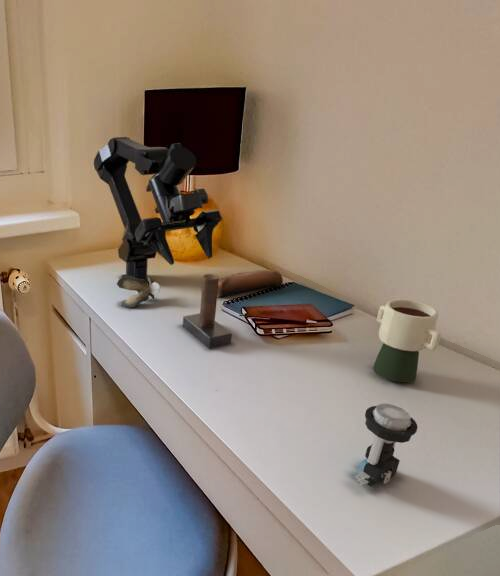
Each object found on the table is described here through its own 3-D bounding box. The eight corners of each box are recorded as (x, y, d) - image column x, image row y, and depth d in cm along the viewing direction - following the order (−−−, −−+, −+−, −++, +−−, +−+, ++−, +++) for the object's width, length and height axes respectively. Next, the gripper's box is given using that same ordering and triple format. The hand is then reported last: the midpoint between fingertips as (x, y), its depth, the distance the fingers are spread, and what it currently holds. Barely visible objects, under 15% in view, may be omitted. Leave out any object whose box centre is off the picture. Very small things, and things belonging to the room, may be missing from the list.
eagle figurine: (142, 286, 116) (111, 287, 112) (155, 268, 111) (123, 268, 107) (153, 311, 112) (122, 313, 108) (167, 294, 107) (135, 295, 103)
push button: (375, 502, 55) (395, 437, 52) (335, 473, 60) (350, 410, 56) (408, 482, 58) (429, 418, 54) (367, 455, 63) (384, 394, 59)
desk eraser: (182, 326, 98) (186, 270, 93) (202, 322, 99) (207, 266, 94) (209, 349, 89) (214, 288, 84) (231, 344, 91) (237, 283, 86)
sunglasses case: (260, 274, 122) (271, 258, 117) (274, 295, 118) (286, 279, 113) (201, 284, 117) (211, 268, 112) (214, 306, 113) (224, 290, 108)
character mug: (439, 390, 75) (462, 319, 70) (404, 397, 74) (425, 326, 69) (383, 356, 85) (400, 292, 80) (351, 362, 83) (366, 297, 78)
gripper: (142, 180, 91) (168, 249, 86) (221, 172, 97) (249, 236, 92) (125, 209, 101) (146, 273, 96) (197, 200, 107) (221, 260, 102)
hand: (191, 260), depth 96 cm, fingers open, 9 cm apart
